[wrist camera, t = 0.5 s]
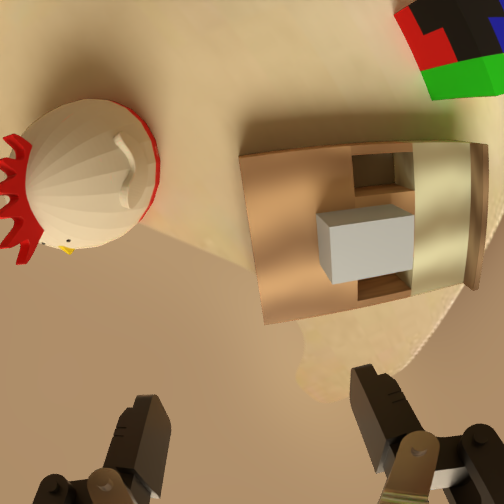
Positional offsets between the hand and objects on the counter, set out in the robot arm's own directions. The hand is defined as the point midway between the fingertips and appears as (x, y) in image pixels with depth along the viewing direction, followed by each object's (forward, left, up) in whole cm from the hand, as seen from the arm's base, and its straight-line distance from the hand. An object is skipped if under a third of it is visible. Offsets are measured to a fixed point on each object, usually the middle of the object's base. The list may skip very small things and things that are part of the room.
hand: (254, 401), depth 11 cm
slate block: (0, +10, -16) cm, 19 cm away
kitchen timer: (-9, -13, -21) cm, 26 cm away
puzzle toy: (-18, +25, -21) cm, 37 cm away
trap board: (0, +12, -20) cm, 24 cm away
